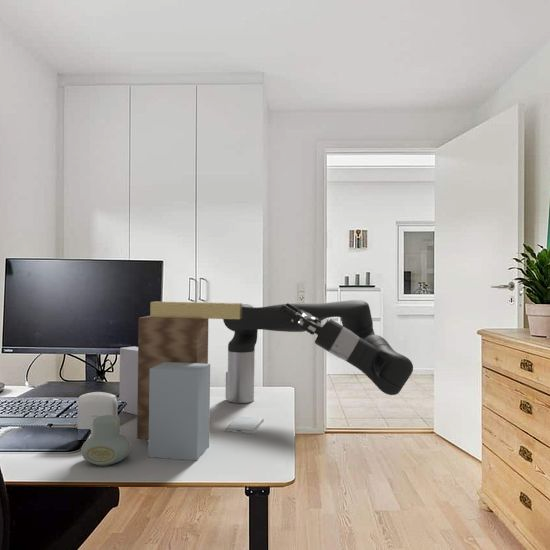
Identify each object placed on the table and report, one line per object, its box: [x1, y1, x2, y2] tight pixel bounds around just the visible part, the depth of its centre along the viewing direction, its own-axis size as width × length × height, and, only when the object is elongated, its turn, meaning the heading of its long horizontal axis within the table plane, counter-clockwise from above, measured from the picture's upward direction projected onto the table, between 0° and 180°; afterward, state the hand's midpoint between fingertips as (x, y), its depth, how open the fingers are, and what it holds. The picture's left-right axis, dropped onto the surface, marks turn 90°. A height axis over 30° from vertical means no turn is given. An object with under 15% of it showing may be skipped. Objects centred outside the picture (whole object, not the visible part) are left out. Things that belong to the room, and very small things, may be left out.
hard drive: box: [224, 415, 265, 434], centre depth 151 cm, size 2×8×12 cm
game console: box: [118, 346, 138, 416], centre depth 159 cm, size 6×27×20 cm, turn 53°
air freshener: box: [80, 415, 132, 467], centre depth 121 cm, size 11×8×10 cm
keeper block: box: [148, 362, 211, 461], centre depth 128 cm, size 12×10×21 cm
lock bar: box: [149, 301, 243, 320], centre depth 139 cm, size 24×4×4 cm, turn 85°
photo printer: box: [76, 391, 118, 437], centre depth 136 cm, size 10×4×12 cm, turn 90°
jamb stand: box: [136, 315, 209, 442], centre depth 140 cm, size 16×10×32 cm, turn 81°
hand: (283, 307), depth 135 cm, fingers open, 8 cm apart
